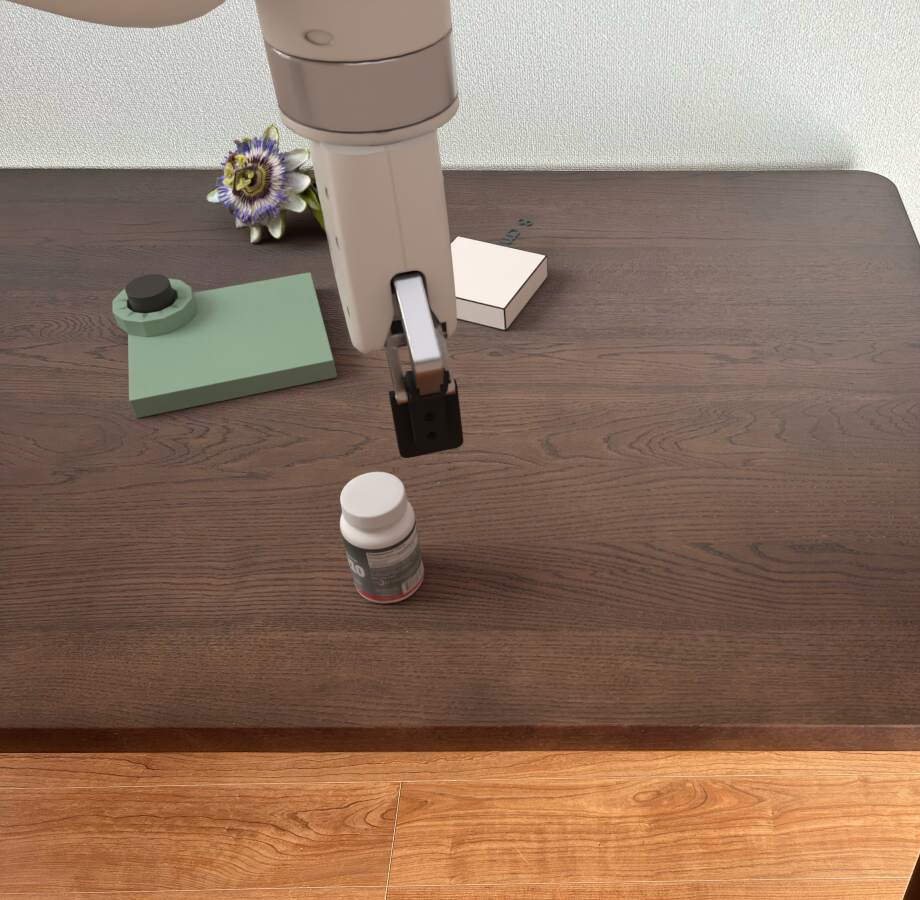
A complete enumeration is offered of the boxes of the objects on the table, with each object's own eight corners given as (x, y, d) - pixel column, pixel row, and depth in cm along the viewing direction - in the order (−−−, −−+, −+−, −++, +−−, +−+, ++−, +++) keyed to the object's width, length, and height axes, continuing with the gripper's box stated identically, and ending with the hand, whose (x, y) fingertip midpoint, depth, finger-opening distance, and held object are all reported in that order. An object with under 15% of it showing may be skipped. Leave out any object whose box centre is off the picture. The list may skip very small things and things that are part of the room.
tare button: (131, 317, 82) (125, 300, 81) (131, 295, 85) (124, 278, 84) (176, 310, 83) (170, 293, 82) (174, 287, 86) (168, 270, 84)
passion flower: (272, 285, 101) (176, 202, 94) (314, 218, 107) (228, 134, 101) (338, 251, 94) (240, 158, 88) (379, 181, 100) (291, 89, 94)
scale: (126, 420, 77) (111, 387, 75) (125, 318, 88) (112, 285, 85) (337, 377, 82) (330, 344, 79) (313, 284, 92) (306, 252, 89)
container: (479, 365, 83) (476, 340, 81) (363, 335, 86) (358, 311, 84) (569, 249, 97) (568, 226, 95) (466, 227, 100) (464, 203, 98)
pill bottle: (349, 562, 67) (326, 476, 61) (416, 544, 68) (400, 459, 63) (361, 614, 64) (339, 529, 58) (432, 594, 65) (417, 509, 59)
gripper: (257, 11, 45) (323, 313, 57) (293, 181, 33) (368, 519, 45) (416, -4, 47) (448, 291, 59) (505, 152, 35) (523, 484, 47)
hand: (413, 390), depth 52 cm, fingers open, 9 cm apart
